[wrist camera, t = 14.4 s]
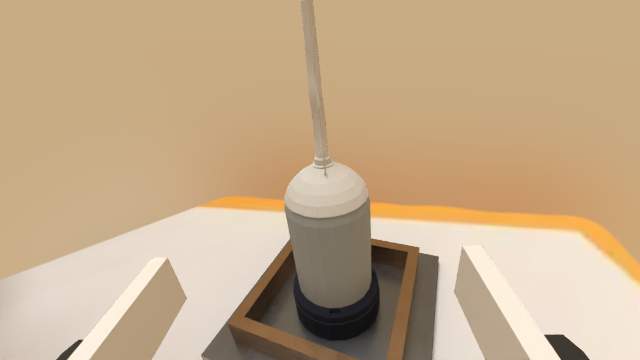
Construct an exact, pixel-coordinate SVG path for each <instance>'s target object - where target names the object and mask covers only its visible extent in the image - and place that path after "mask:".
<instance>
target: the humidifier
mask: <svg viewBox="0 0 640 360" xmlns="http://www.w3.org/2000/svg"><path fill="white" fill-rule="evenodd" d="M301 11H302V21H303V31H304V40H305V52H306V63H307V73H308V89H309V98H310V105H311V111H312V119H313V127H314V136H315V137H314V138H315V152H316V156H315V157H314V162H313V163H312V165H310V166H307V167H306V168H304V169H302V171H300V172H299V173H298V174H297V175H296V176H295V177H294V178H293V179H292V181H291V182H290V184H289V185H288V188H287V191H286V195H285V198H284V201H285V212H286V218H287V223H288V228H289V233H290V239H291V244H292V249H293V254H294V259H295V265H296V270H297V273H296V275H295V279H294V285H293V288H294V290H293V294H294V299H295V303H296V308H297V313H298V317H299V319H300V321H301V322H302V324H303V325H304V327H305V328H306V329H307V330H308V331H310V332H311V333H312V334H314V335H315V336H317V337H320V338H323V339H327V340H330V341H340V340H348V339H351V338H354V337H357V336H359V335H361V334H362V333H363V332H365V331H366V330H367V329H369V328H370V327H371V325H372V324H373V322H374V321H375V319H376V318H377V315H378V310H379V305H380V289H379V283H378V278H377V274H376V272H375V270H374V269H373V267H372V265H371V225H370V200H369V196H368V195H369V193H368V188H367V186H366V184H365V182H364V181H363V179H362V178H361V177H360V176H359V175H358V174H357V173H356V172H355V171H353V170H352V169H350V168H348V167H347V166H345V165H343V164H340V163H335V162H333V161H332V160H331V158H330V155H329V154H328V146H327V133H326V122H325V113H324V106H323V99H322V90H321V77H320V66H319V56H318V47H317V39H316V28H315V18H314V9H313V0H302V1H301Z"/></svg>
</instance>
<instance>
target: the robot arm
mask: <svg viewBox="0 0 640 360" xmlns="http://www.w3.org/2000/svg"><path fill="white" fill-rule="evenodd" d="M454 293H455V295H456V297H457V299H458V301H459V303H460V306H461V308H462V310H463V312H464V314H465V316H466V319H467V321H468V323H469V325H470V327H471V330H472V332H473V334H474V336H475V338H476V340H477V343H478V345H479V347H480V349H481V351H482V353H483V356H484V358H485V360H589V358H588V357H587V356H586V354H585V353H584V352H583V351H582V350H581V349H580V348H578V347H577V346H576V345H575V344H574V343H572V342H571V341H570V340H569V339H568V338H566V337H565V336H564V335H543V333H542V332H541V330H540V329H539V327H538V326H537V324H536V323H535V322H534V320H533V319H532V317H531V316H530V314H529V313H528V311H527V310H526V309H525V307H524V306H523V304H522V303H521V301H520V300H519V298H518V297H517V296H516V294H515V293H514V291H513V290H512V288H511V287H510V285H509V284H508V283H507V281H506V280H505V278H504V277H503V275H502V274H501V273H500V271H499V270H498V268H497V267H496V265H495V264H494V262H493V261H492V260H491V258H490V257H489V255H488V254H487V252H486V251H485V249H484V248H483V247H482V245H474V246H462V251H461V256H460V262H459V268H458V273H457V279H456V285H455V290H454ZM186 299H187V298H186V296H185V293H184V291H183V289H182V287H181V285H180V283H179V281H178V279H177V277H176V274H175V272H174V270H173V268H172V266H171V264H170V262H169V260H168V258H152V259H151V260H150V261H149V262H148V264H147V265H146V266H145V267H144V268H143V270H142V271H141V272H140V273H139V274H138V276H137V277H136V278H135V279H134V280H133V282H132V283H131V284H130V285H129V286H128V288H127V289H126V290H125V291H124V292H123V294H122V295H121V296H120V297H119V298H118V300H117V301H116V302H115V303H114V304H113V306H112V307H111V308H110V309H109V310H108V312H107V313H106V314H105V315H104V316H103V318H102V319H101V320H100V321H99V322H98V324H97V325H96V326H95V327H94V328H93V330H92V331H91V332H90V333H89V334H88V335H87V337H86V338H85V339H84V340H78V341H77V342H75V343H74V344H73V345H72V346H71V347H69V348H68V349H67V350H66V351H64V352H63V353H62V354H61V355H60V356H59V357H58V359H57V360H152V358H153V356H154V354H155V353H156V351H157V349H158V347H159V346H160V344H161V342H162V340H163V339H164V337H165V335H166V334H167V332H168V330H169V328H170V327H171V325H172V323H173V321H174V320H175V318H176V316H177V314H178V313H179V311H180V309H181V307H182V306H183V304H184V302H185V300H186Z"/></svg>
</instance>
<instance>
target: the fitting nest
mask: <svg viewBox="0 0 640 360" xmlns="http://www.w3.org/2000/svg"><path fill="white" fill-rule="evenodd" d="M438 259H439V257H438V256H433V255H428V254H423V253H419V247H414V246H408V245H403V244H398V243H392V242H387V241H382V240H376V239H371V265H372V267H373V269H374V270H375V272H376V274H377V278H378V283H379V289H380V305H379V310H378V315H377V318H376V319H375V321H374V322H373V324H372V325H371V327H370V328H369V329H367V330H366V331H365V332H363V333H362V334H361V335H359V336H357V337H354V338H351V339H348V340H340V341H330V340H327V339H323V338H320V337H317V336H315V335H314V334H312V333H311V332H310V331H308V330H307V329H306V328H305V327H304V325H303V324H302V322H301V321H300V319H299V317H298V313H297V308H296V303H295V299H294V294H293V290H294V288H293V285H294V279H295V275H296V273H297V270H296V265H295V259H294V254H293V249H292V244H291V239H290V240H289V241H288V242H287V244H286V245H285V246H284V248H283V249H282V250H281V251H280V253H279V254H278V255H277V257H276V258H275V259H274V261H273V262H272V263H271V265H270V266H269V267H268V268H267V270H266V271H265V272H264V274H263V275H262V276H261V278H260V279H259V280H258V282H257V283H256V284H255V285H254V287H253V288H252V289H251V291H250V292H249V293H248V295H247V296H246V297H245V299H244V300H243V301H242V302H241V304H240V305H239V306H238V308H237V309H236V310H235V312H234V313H233V314H232V316H231V317H230V318H229V319H228V321H227V322H226V323H225V325H224V326H223V327H222V329H221V330H220V331H219V333H218V334H217V335H216V337H215V338H214V339H213V340H212V342H211V343H210V344H209V346H208V347H207V348H206V350H205V351H204V352H203V354H202V355H201V356H202V358H203V360H432V346H433V331H434V317H435V302H436V288H437V273H438Z"/></svg>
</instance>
